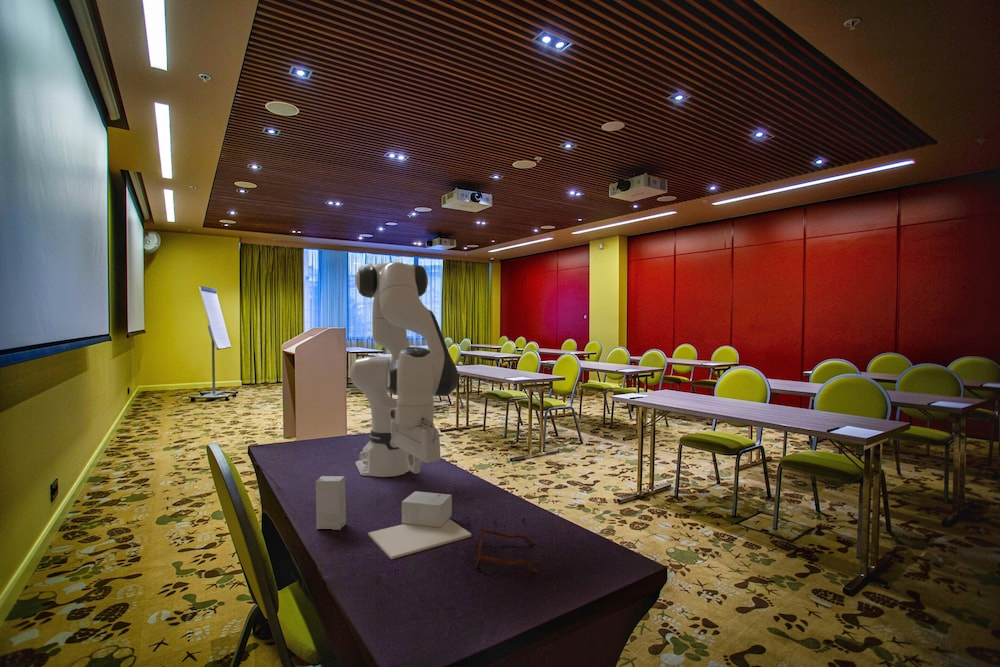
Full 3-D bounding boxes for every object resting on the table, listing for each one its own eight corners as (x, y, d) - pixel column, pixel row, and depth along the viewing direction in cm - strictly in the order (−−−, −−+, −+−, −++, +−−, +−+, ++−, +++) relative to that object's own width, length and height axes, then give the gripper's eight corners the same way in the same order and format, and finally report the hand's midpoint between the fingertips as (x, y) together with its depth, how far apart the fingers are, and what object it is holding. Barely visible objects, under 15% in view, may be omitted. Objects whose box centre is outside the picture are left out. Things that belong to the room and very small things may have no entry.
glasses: (479, 544, 110) (479, 522, 109) (535, 545, 109) (535, 524, 109) (474, 574, 96) (475, 549, 96) (539, 575, 96) (539, 551, 96)
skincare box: (346, 523, 119) (346, 475, 119) (340, 531, 114) (340, 481, 114) (321, 523, 119) (322, 474, 119) (314, 530, 114) (315, 480, 114)
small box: (400, 523, 118) (440, 528, 115) (401, 501, 118) (440, 505, 115) (414, 511, 125) (452, 516, 123) (415, 490, 125) (452, 494, 123)
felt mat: (368, 535, 112) (368, 532, 112) (443, 516, 124) (443, 514, 124) (391, 559, 101) (391, 556, 101) (471, 536, 112) (471, 534, 112)
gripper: (447, 421, 108) (446, 481, 109) (409, 407, 125) (408, 459, 125) (422, 424, 105) (421, 486, 105) (386, 409, 121) (386, 463, 122)
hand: (414, 471), depth 115 cm, fingers closed
